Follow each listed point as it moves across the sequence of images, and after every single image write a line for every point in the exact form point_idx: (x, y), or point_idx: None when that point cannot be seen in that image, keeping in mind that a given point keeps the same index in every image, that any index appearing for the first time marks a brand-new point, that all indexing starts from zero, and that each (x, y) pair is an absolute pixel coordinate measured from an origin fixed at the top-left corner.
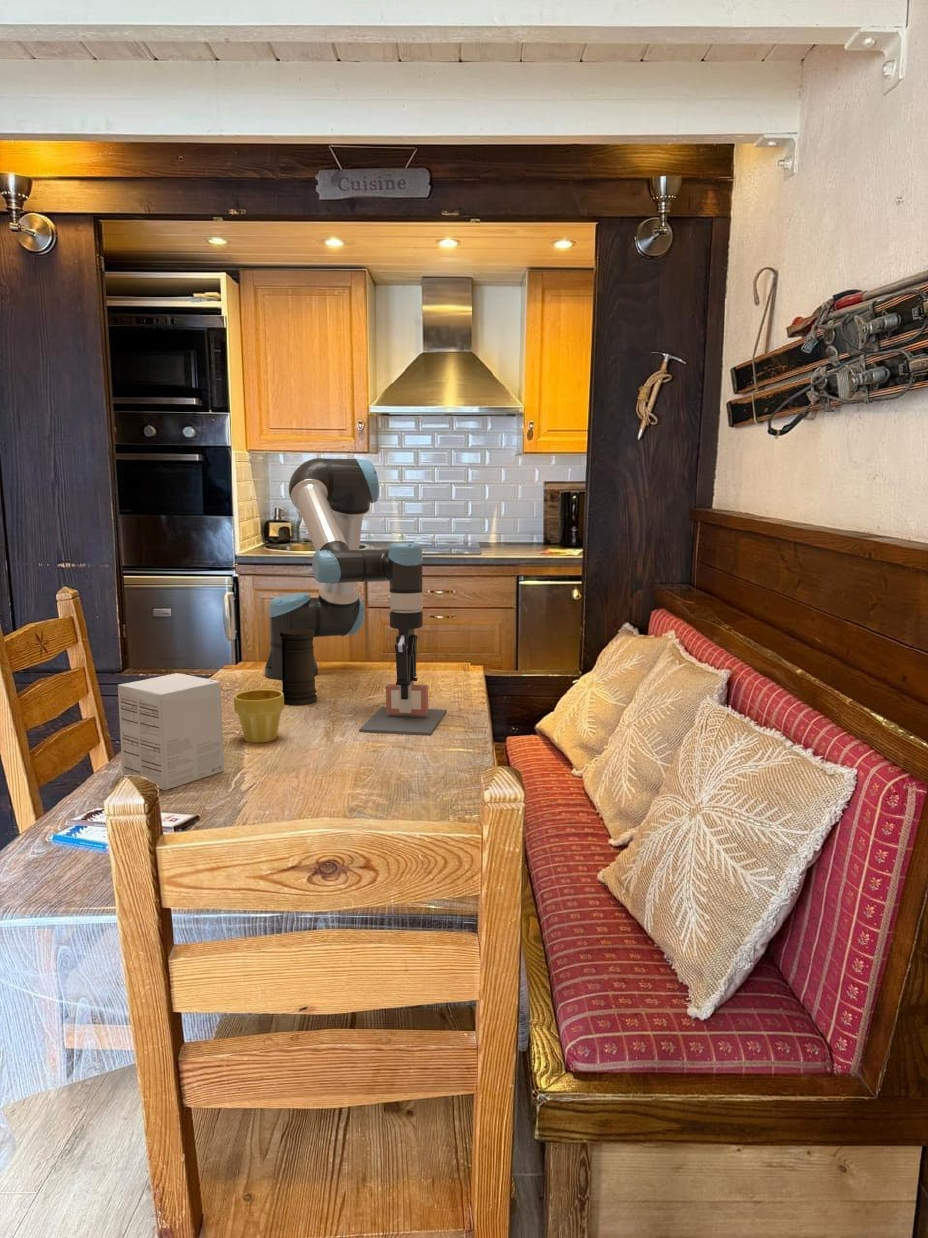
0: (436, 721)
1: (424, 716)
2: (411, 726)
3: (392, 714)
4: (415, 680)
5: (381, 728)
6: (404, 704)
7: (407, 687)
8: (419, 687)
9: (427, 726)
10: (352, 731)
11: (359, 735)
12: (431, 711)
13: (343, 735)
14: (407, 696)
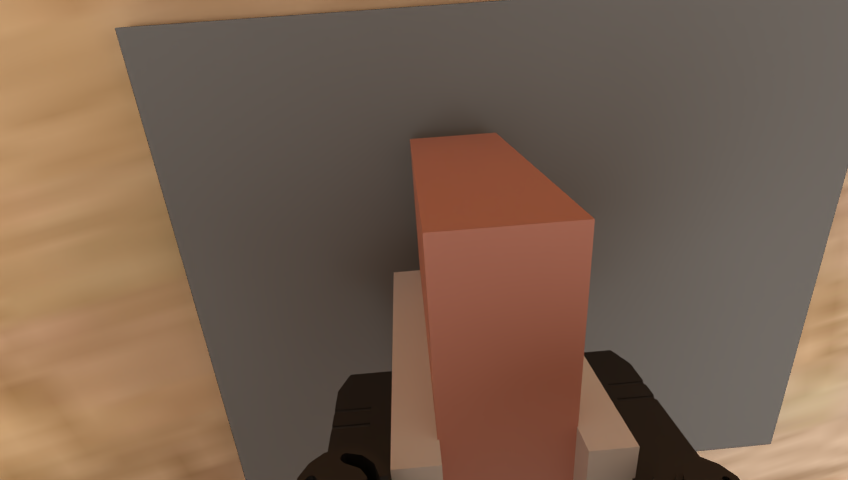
0: (549, 15)
1: (410, 165)
2: (711, 179)
3: None
4: (385, 475)
5: (758, 346)
6: None
7: (664, 454)
8: (583, 319)
9: (713, 53)
10: (744, 462)
11: (824, 410)
12: (233, 153)
13: (817, 472)
14: (608, 370)
